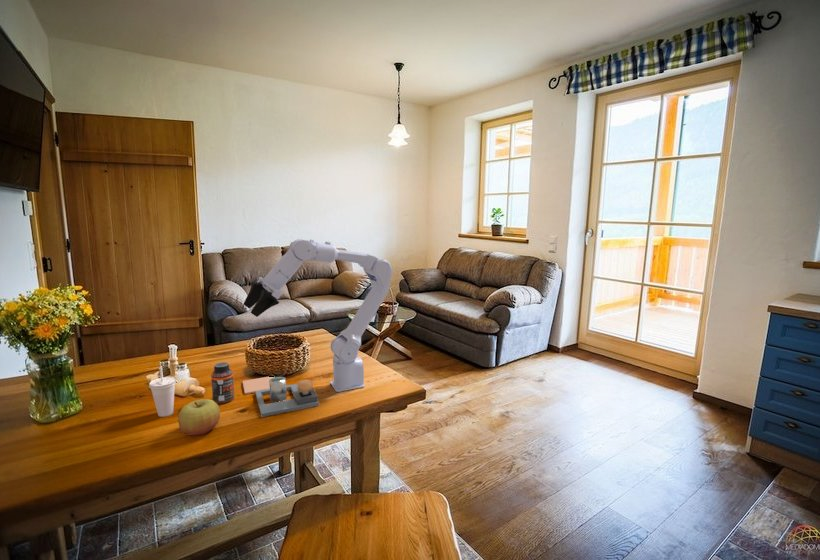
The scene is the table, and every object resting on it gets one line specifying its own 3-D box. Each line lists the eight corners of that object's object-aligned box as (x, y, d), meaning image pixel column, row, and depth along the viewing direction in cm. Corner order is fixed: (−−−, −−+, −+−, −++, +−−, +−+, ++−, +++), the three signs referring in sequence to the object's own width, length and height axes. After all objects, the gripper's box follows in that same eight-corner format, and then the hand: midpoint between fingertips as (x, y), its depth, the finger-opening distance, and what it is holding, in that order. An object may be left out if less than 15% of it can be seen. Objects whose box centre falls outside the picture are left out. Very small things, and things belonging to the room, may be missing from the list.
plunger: (311, 389, 124) (310, 378, 124) (314, 395, 120) (314, 383, 120) (296, 392, 122) (296, 381, 122) (299, 398, 118) (298, 386, 118)
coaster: (273, 377, 140) (273, 375, 139) (278, 388, 131) (278, 387, 131) (242, 382, 135) (242, 380, 135) (245, 394, 126) (244, 392, 126)
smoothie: (151, 421, 110) (145, 372, 108) (153, 411, 116) (148, 364, 114) (178, 416, 113) (173, 368, 111) (179, 406, 119) (174, 360, 116)
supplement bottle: (226, 405, 119) (223, 369, 117) (208, 403, 121) (205, 367, 119) (238, 396, 125) (236, 361, 123) (221, 394, 126) (218, 360, 124)
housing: (307, 384, 134) (306, 377, 133) (318, 405, 120) (318, 397, 119) (255, 394, 127) (255, 386, 126) (261, 417, 113) (261, 408, 112)
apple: (179, 426, 108) (176, 398, 107) (219, 417, 113) (217, 390, 111) (179, 444, 100) (176, 414, 98) (223, 434, 104) (220, 405, 103)
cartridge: (285, 393, 127) (284, 373, 126) (287, 400, 123) (286, 379, 122) (269, 396, 125) (268, 376, 124) (271, 403, 121) (270, 382, 120)
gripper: (263, 259, 121) (232, 295, 118) (279, 271, 110) (245, 311, 107) (280, 273, 125) (251, 308, 123) (298, 285, 114) (266, 324, 112)
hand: (249, 310), depth 115 cm, fingers open, 7 cm apart
